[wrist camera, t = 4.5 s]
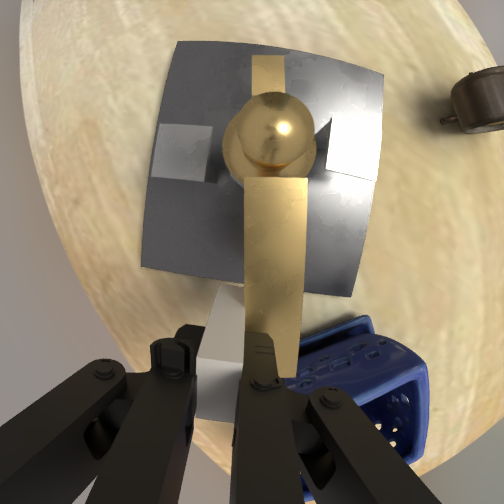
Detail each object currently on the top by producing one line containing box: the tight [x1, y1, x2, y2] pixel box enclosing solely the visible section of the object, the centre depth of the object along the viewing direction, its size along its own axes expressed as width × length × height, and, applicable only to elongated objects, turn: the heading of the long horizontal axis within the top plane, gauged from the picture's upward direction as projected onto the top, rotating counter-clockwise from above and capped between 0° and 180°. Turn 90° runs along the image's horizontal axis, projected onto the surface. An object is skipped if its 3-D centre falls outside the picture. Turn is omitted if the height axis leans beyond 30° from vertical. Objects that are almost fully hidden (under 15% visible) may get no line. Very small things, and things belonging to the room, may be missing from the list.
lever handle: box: [222, 55, 316, 378], centre depth 13 cm, size 17×5×7 cm, turn 0°
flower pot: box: [282, 315, 429, 502], centre depth 20 cm, size 13×13×12 cm
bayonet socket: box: [141, 41, 384, 297], centre depth 18 cm, size 20×18×7 cm
